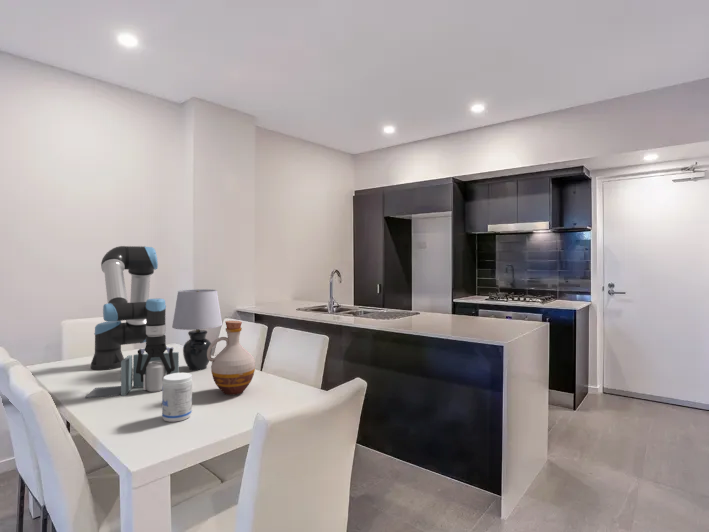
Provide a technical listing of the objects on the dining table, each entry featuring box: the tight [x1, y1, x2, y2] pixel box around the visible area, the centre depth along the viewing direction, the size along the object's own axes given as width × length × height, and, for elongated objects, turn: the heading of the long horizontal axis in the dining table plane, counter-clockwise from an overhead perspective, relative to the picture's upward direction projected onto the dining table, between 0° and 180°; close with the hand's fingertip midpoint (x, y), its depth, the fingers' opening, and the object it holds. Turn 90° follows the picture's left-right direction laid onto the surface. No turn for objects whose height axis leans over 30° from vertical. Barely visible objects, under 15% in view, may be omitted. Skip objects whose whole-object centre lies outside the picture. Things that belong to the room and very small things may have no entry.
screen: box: [120, 351, 180, 397], centre depth 172 cm, size 13×20×14 cm, turn 106°
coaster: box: [84, 385, 121, 399], centre depth 168 cm, size 12×12×1 cm
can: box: [145, 361, 166, 393], centre depth 171 cm, size 8×8×12 cm
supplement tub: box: [161, 372, 193, 423], centre depth 141 cm, size 10×10×15 cm
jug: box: [207, 320, 256, 396], centre depth 169 cm, size 20×18×30 cm
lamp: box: [172, 288, 223, 372], centre depth 206 cm, size 24×24×40 cm
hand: (155, 388), depth 171 cm, fingers open, 8 cm apart
